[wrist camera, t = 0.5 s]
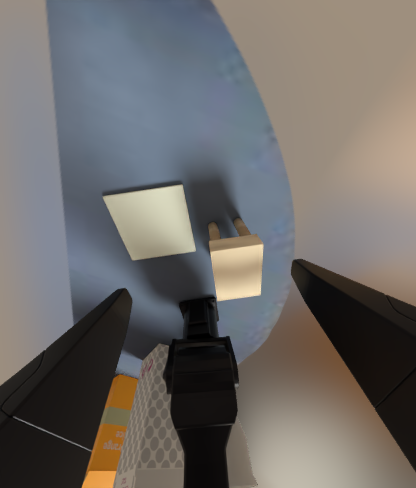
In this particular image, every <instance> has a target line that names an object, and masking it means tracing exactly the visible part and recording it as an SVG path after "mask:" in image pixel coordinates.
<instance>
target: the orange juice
mask: <svg viewBox="0 0 416 488" xmlns="http://www.w3.org/2000/svg"><path fill="white" fill-rule="evenodd" d="M137 383H138V379H135V378H132V377H128V376H125V375H121V374H119V375H118V376H116V377H115V378H113V381H112V385H111V388H110V392H109V395H108V399H107V402H106V406H105V409H104V412H103V416H102V419H101V423H100V426H99V430H98V433H97V437H96V440H95V443H94V447H93V450H92V451H91V452H92V454H91V458H90V461H89V465H88V468H87V472H86V475H85V478H84V482H83V485H82V488H113V484H114V480H115V476H116V471H117V467H118V463H119V459H120V455H121V450H122V446H123V442H124V438H125V434H126V429H127V425H128V421H129V417H130V412H131V408H132V404H133V400H134V396H135V391H136V387H137Z"/></svg>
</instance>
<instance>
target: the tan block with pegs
mask: <svg viewBox="0 0 416 488" xmlns="http://www.w3.org/2000/svg"><path fill="white" fill-rule="evenodd" d="M234 226H235V228H236V230H237V232H238V234H239V236H240V237H233V238H226V239H221V238H220V234H219V230H218V227H217V224H216V223H215V222H211V223H209V225H208V229H209V235H210V241H209V247H210V253H211V260H212V267H213V274H214V280H215V287H216V294H217V301H222V300H229V299H236V298H243V297H250V296H257V295H260V293H261V276H262V258H263V243H262V241H261V240H260V238H259V237H258V236H257V234H253V235H251V234H250V232H249V230H248V229H247V227H246V226H245V224H244V222H243V221H242V219H240V218H237V219H235V220H234Z"/></svg>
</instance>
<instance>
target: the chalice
mask: <svg viewBox="0 0 416 488" xmlns="http://www.w3.org/2000/svg"><path fill="white" fill-rule="evenodd" d="M226 455H227V467H228V479H229V488H249V487H254V486H257V485H258V484H257V482H256V480H255V478H254V476H253V473H252V467H251V462H250V457H249V451H248V445H247V439H246V436H245V434H244V431H243V429H242V426H241V424H240V422H239V420H238V418H237V416H236V421H235V424H233V426H232V429H231V433H230V437H229V440H228V444H227V447H226Z"/></svg>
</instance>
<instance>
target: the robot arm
mask: <svg viewBox="0 0 416 488" xmlns="http://www.w3.org/2000/svg"><path fill="white" fill-rule="evenodd" d="M291 275H292V278H293V279H294V281H295V283H296V285H297V287H298V289H299V291H300V293H301V295H302V297H303V299H304V301H305V303H306V304H307V306H308V307H309V309H310V310H311V312H312V314H313V315H314V316H315V318H316V320H317V321H318V323H319V324H320V326H321V327H322V329H323V330H324V332H325V333H326V335H327V336H328V338H329V340H330V341H331V342H332V344H333V346H334V347H335V349H336V350H337V352H338V353H339V355H340V356H341V358H342V359H343V361H344V362H345V364H346V366H347V367H348V368H349V370H350V372H351V373H352V375H353V376H354V378H355V379H356V381H357V382H358V384H359V385H360V387H361V389H362V390H363V392H364V393H365V395H366V396H367V398H368V399H369V401H370V402H371V404H372V405H373V407H374V408H375V410H376V412H377V413H378V415H379V416H380V418H381V419H382V421H383V423H384V424H385V426H386V427H387V429H388V430H389V432H390V433H391V435H392V436H393V438H394V439H395V441H396V443H397V444H398V445H399V447H400V449H401V450H402V452H403V453H404V455H405V456H406V458H407V459H408V461H409V462H410V464H411V466H412V467H413V469H414V470H415V472H416V307H415V306H413V305H410V304H408V303H405V302H403V301H400V300H398V299H395V298H393V297H391V296H389V295H385V294H384V293H381V292H379V291H377V290H374V289H372V288H370V287H367V286H365V285H362V284H360V283H358V282H355V281H353V280H351V279H348V278H346V277H344V276H341V275H339V274H336V273H334V272H332V271H329V270H327V269H325V268H322V267H319V266H317V265H315V264H313V263H310V262H308V261H306V260H303V259H295V260H293V261H292V267H291ZM131 307H132V298H131V296H130V294H129V292H128V290H127V289H126V288H121V289H117V290H116V291H115V292H113V293H112V294H111V295H110V296H109V297H107V298H106V299H105V300H104V301H103V302H101V303H100V304H99V305H98V306H97V307H96V308H94V309H93V310H92V311H91V312H90V313H88V314H87V315H86V316H85V317H84V318H82V319H81V320H80V321H79V322H78V323H76V324H75V325H74V326H73V327H72V328H70V329H69V330H68V331H67V332H66V333H64V334H63V335H62V336H61V337H60V338H59V339H57V340H56V341H55V342H54V343H53V344H51V345H50V346H49V347H48V348H47V349H46V350H44V351H43V352H42V353H40V355H38V356H37V357H36V358H34V359H33V360H32V361H31V362H30V363H28V364H27V365H26V366H25V367H24V368H22V369H21V370H20V371H19V372H17V373H16V374H15V375H14V376H12V377H11V378H10V379H8V380H7V381H6V382H5V383H3V384H2V385H1V386H0V488H82V485H83V482H84V478H85V475H86V472H87V468H88V465H89V461H90V458H91V454H92V452H91V451H92V450H93V447H94V443H95V440H96V437H97V433H98V430H99V426H100V423H101V419H102V416H103V412H104V409H105V406H106V402H107V399H108V395H109V392H110V388H111V385H112V381H113V378H114V375H115V371H116V368H117V364H118V361H119V357H120V354H121V350H122V347H123V343H124V340H125V337H126V333H127V329H128V324H129V318H130V313H131ZM179 307H180V310H181V313H182V316H183V319H184V327H183V339H177V340H176V339H173V340H172V344H171V345H170V346H169V350H168V357H167V361H166V365H165V368H164V372H163V380H164V381H165V383H166V391H167V395H170V394H171V404H170V415H171V419H172V422H173V425H174V428H175V430H176V432H177V435H178V438H179V440H180V443H181V446H182V449H183V451H184V484H183V488H229V479H228V467H227V455H226V447H227V444H228V440H229V437H230V433H231V429H232V426H233V424H235V421H236V416H237V411H238V410H237V399H236V390H235V389H238V387H239V378H238V369H237V363H236V359H235V355H234V351H233V348H232V344H231V341H230V337H229V336H226V337H219V335H218V327H217V321H219V316H218V310H217V303H216V298H214V297H211V298H205V299H198V300H191V301H184V302H180V303H179Z"/></svg>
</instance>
